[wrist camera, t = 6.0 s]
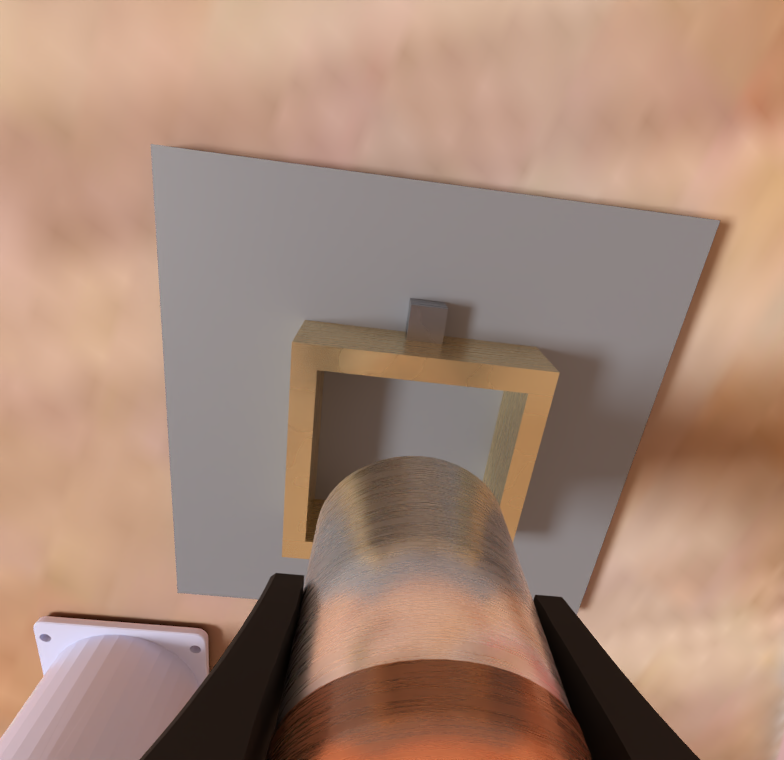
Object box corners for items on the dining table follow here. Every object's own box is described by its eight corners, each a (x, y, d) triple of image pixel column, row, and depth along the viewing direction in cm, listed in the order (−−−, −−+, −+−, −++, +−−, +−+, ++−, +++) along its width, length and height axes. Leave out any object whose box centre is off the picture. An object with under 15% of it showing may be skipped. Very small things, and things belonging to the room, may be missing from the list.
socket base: (565, 608, 23) (572, 625, 22) (186, 575, 22) (177, 592, 21) (701, 218, 16) (720, 220, 16) (164, 146, 15) (150, 144, 15)
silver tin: (489, 612, 14) (645, 1259, 6) (312, 603, 14) (197, 1261, 5) (522, 461, 12) (835, 1099, 4) (316, 447, 12) (144, 1094, 3)
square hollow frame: (484, 553, 21) (497, 600, 18) (292, 536, 20) (280, 582, 18) (544, 314, 17) (569, 335, 14) (306, 285, 16) (293, 302, 14)
